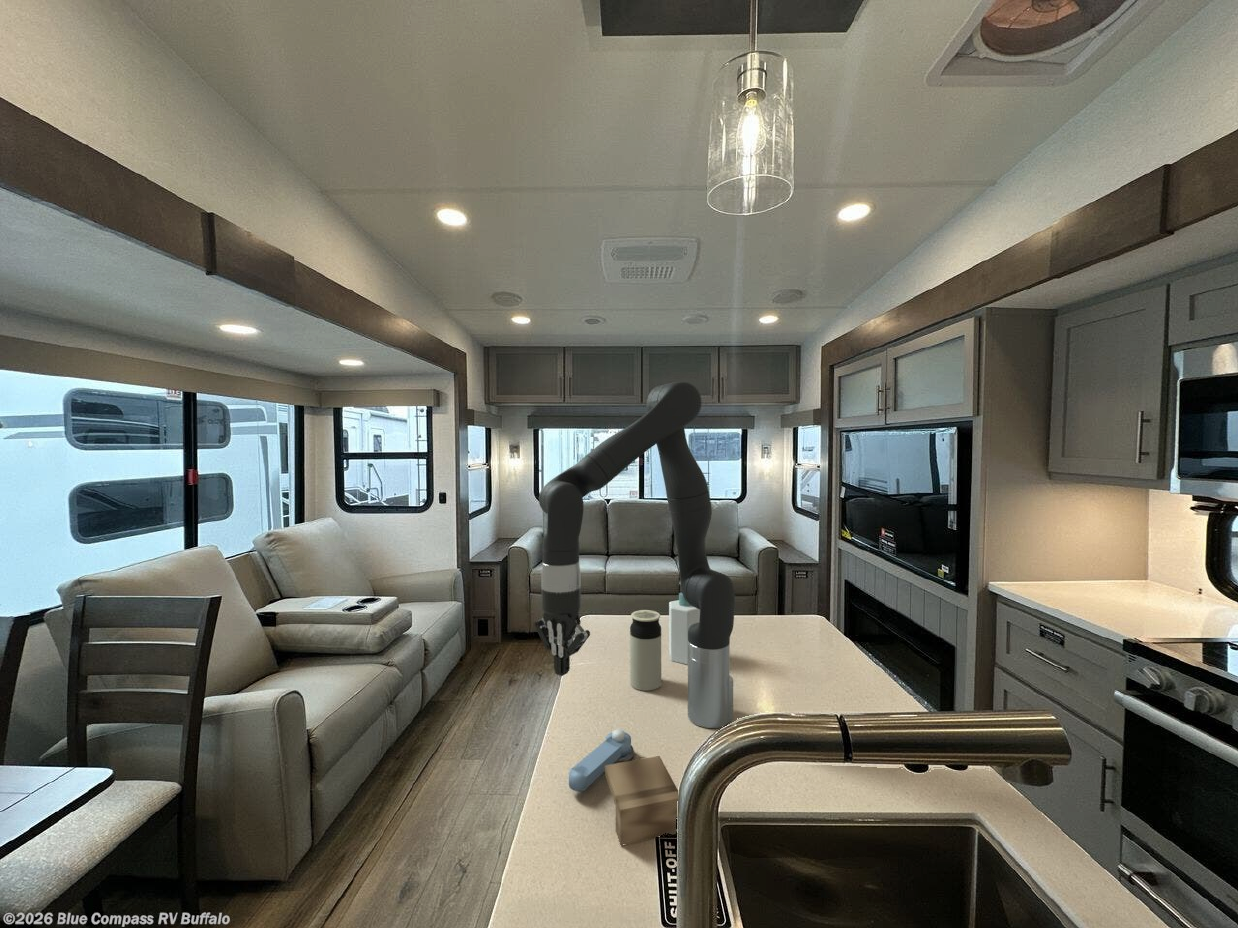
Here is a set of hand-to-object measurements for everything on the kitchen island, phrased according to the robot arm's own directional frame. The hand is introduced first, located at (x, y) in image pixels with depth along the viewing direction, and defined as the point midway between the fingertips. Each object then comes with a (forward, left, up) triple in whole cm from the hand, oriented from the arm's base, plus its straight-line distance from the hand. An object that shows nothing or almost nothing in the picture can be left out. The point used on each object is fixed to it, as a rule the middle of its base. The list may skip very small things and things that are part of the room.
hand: (561, 673), depth 92 cm
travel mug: (-25, -24, -17) cm, 38 cm away
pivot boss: (-11, +2, -17) cm, 20 cm away
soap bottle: (-41, -36, -17) cm, 57 cm away
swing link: (-6, +6, -15) cm, 18 cm away
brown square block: (-11, +17, -17) cm, 26 cm away
